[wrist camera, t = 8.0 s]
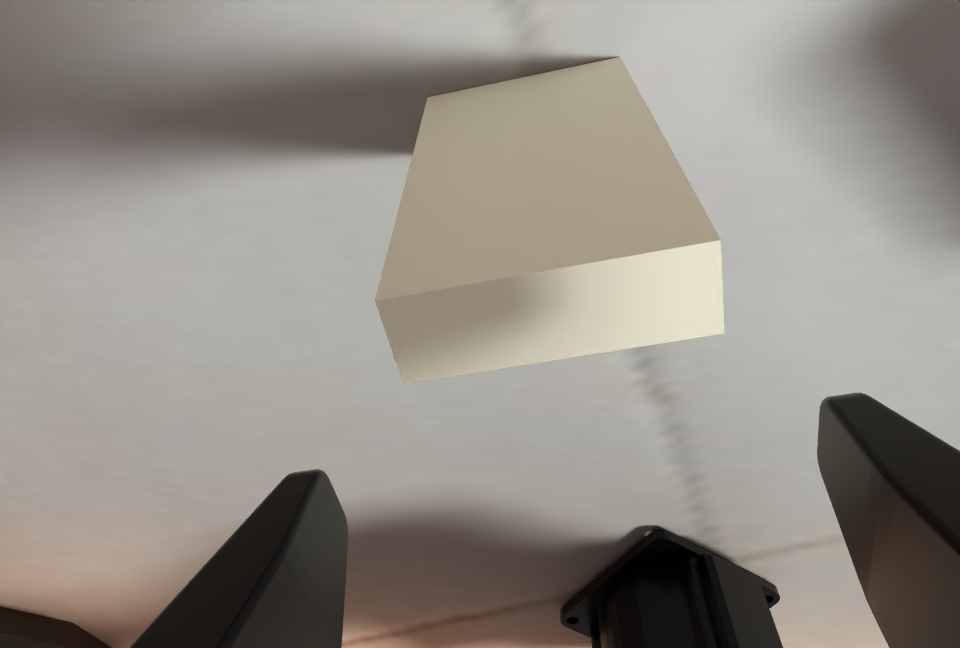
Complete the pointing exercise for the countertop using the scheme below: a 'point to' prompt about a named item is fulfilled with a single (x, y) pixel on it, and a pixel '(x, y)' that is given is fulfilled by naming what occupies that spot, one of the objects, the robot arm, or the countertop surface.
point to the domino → (545, 230)
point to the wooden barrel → (42, 632)
